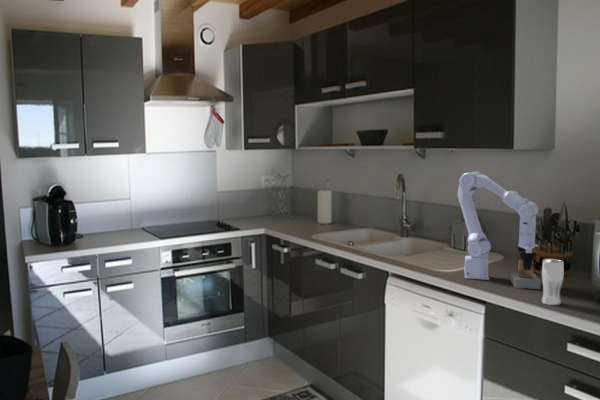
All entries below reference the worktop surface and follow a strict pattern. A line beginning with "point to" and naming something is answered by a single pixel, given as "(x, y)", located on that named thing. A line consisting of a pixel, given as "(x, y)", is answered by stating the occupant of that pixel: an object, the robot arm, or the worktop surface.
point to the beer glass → (552, 280)
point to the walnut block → (525, 271)
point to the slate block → (525, 282)
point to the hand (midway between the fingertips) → (525, 267)
